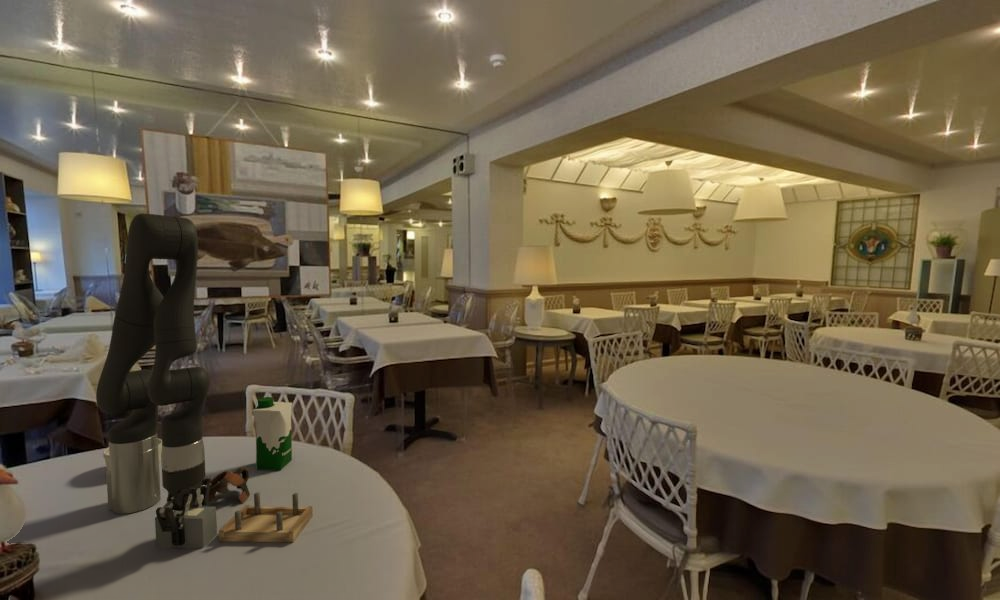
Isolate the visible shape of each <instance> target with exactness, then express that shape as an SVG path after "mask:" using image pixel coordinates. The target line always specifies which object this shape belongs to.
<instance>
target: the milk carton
mask: <svg viewBox="0 0 1000 600" xmlns="http://www.w3.org/2000/svg"><path fill="white" fill-rule="evenodd" d="M292 404H293V403H292V402H284V401H274V398H273V397H271V396H266V397H265V396H264V397H260V398H258V399H257V406H256V407H255V408H254V409H253V410H252V414H253V419H254V422H255V425H254V426H255V448H256V449H255V452H256V453H255V454H256V455H255V456H256V457H255V463H256V464H255V470H256V471H282V470H283V469H284V468H285V467H286V466H287V465H288V464H289V463H290V462H291V461H292V460H293V456H292V455H293V454H292V453H293V449H292V447H293V445H292V444H293V443H292V408H293V405H292Z"/></svg>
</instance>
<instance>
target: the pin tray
mask: <svg viewBox="0 0 1000 600" xmlns="http://www.w3.org/2000/svg"><path fill="white" fill-rule="evenodd" d="M291 496H292V506H265V505H264V506H261V493H260V492H259V491H257V492H255V493H254V494H253V504H254V506H253V505H252V506H251V505H249V504H244V506H243V507H242V508H241V509H240V510H236V511H235V512H234V515H233V516H232V517H231V518H230V519H229V520H228V521H227V522H226V523H225V524H224V525H223V526H222V527H221V528H220V529H219V530H218V531H219V532H218V533H219V542H243V543H244V542H245V543H247V542H248V543H294V542H295V541H296V540H297V539H298V537H299V536H300V534H301V533H302V531H303V530H304V529H305V528H306V526H307V524H308V523H309V522H310V520H311V519H312V518H313V505H308V506H306V507H305V506H299V493H298V492H294V493H293V494H292V495H291Z"/></svg>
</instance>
